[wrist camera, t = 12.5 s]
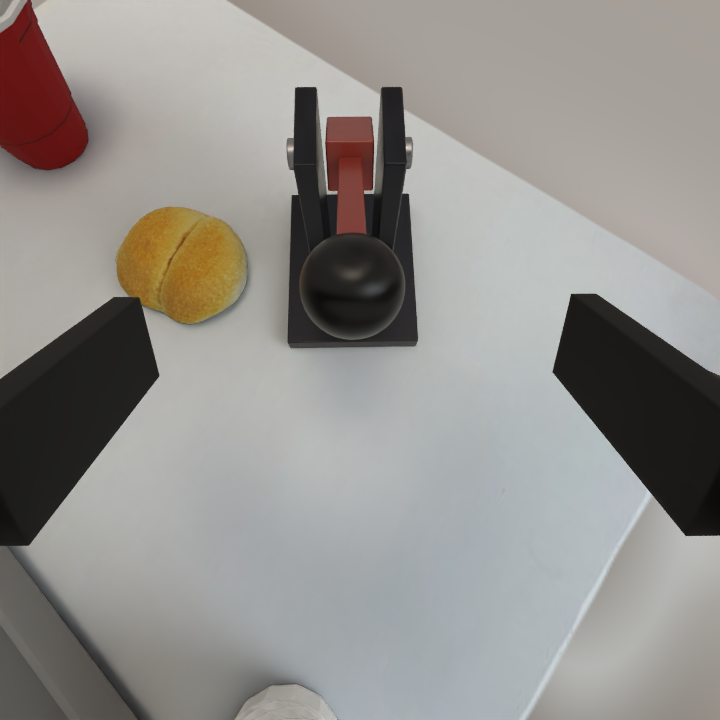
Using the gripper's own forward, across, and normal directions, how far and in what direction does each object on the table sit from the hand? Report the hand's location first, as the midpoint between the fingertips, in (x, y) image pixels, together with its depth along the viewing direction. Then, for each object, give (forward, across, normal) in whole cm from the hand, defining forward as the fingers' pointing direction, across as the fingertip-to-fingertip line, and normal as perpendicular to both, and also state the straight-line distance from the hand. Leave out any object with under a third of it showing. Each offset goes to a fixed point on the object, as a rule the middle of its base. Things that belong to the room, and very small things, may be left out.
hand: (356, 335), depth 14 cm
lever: (+7, 0, -1) cm, 7 cm away
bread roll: (+20, +12, +4) cm, 24 cm away
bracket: (+20, 0, +4) cm, 20 cm away
